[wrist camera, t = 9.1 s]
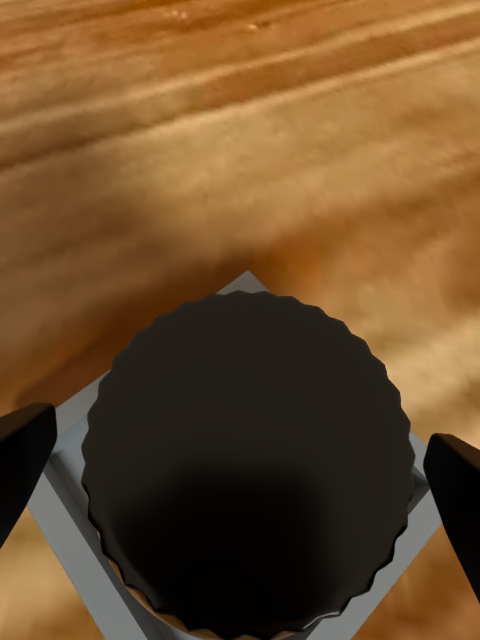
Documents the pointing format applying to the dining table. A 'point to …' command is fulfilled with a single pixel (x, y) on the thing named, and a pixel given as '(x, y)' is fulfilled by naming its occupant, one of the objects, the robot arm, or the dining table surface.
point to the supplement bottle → (247, 467)
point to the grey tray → (103, 583)
